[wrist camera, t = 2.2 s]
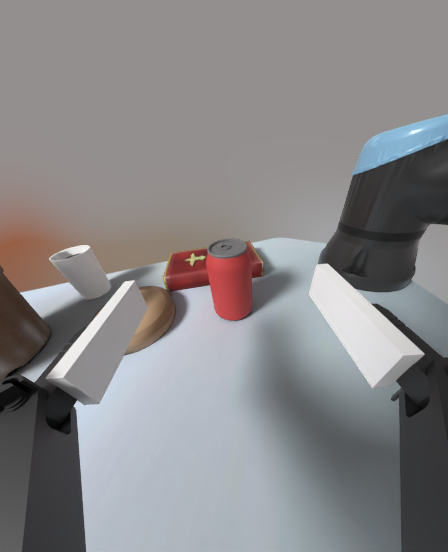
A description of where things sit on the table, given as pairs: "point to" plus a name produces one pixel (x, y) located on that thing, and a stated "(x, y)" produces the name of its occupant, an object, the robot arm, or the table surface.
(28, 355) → the plant pot
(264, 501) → the table surface
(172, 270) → the hardcover book
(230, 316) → the beer can
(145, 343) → the shallow wooden bowl
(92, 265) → the white cup
